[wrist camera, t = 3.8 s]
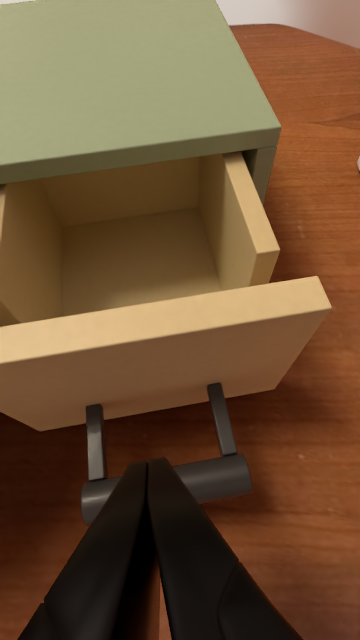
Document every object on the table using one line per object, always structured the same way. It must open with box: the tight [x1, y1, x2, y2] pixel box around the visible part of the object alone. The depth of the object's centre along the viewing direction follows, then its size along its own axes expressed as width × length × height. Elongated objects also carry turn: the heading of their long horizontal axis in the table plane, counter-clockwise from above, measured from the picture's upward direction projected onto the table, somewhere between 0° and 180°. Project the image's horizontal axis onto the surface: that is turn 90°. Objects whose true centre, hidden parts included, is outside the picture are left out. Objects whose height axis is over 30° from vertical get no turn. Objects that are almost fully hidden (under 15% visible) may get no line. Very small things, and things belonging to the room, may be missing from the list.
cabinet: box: [0, 0, 281, 206], centre depth 20 cm, size 14×13×10 cm
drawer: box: [0, 151, 332, 526], centre depth 15 cm, size 17×11×8 cm
